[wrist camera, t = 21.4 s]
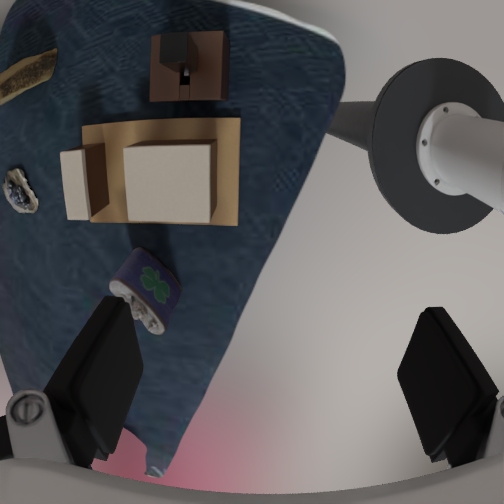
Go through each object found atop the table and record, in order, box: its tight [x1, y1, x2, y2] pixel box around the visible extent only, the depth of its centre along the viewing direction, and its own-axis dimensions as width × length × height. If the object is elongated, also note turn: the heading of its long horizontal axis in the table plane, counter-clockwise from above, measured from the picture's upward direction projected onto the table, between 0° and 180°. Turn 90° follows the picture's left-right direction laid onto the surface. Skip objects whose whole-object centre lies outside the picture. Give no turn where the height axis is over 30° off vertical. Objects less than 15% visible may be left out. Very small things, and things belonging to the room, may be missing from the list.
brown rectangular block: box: [60, 143, 110, 220], centre depth 34 cm, size 3×8×6 cm, turn 178°
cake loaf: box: [123, 139, 217, 223], centre depth 34 cm, size 9×8×6 cm
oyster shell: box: [2, 168, 39, 214], centre depth 38 cm, size 7×8×2 cm
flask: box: [109, 247, 182, 335], centre depth 39 cm, size 9×3×11 cm, turn 36°
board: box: [82, 117, 241, 226], centre depth 37 cm, size 20×13×1 cm, turn 88°
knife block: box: [150, 31, 230, 102], centre depth 29 cm, size 7×7×7 cm
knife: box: [159, 31, 198, 79], centre depth 25 cm, size 2×3×14 cm, turn 178°
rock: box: [0, 48, 58, 105], centre depth 28 cm, size 11×9×10 cm
